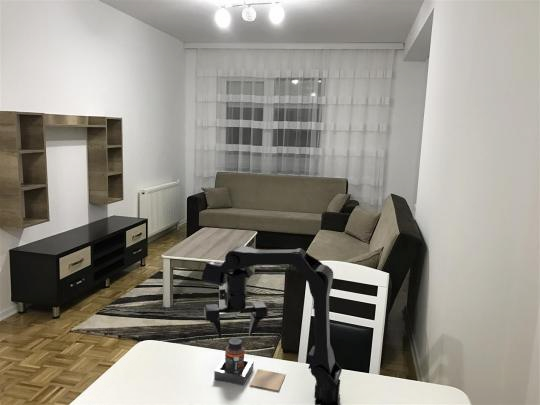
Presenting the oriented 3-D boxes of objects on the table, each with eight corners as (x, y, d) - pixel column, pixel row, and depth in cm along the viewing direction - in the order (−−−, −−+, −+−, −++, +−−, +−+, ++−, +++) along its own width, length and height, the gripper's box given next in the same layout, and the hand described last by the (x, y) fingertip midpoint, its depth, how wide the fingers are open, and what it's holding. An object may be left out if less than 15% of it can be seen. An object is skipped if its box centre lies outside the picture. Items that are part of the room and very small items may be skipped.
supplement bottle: (240, 381, 140) (241, 347, 137) (222, 378, 141) (222, 344, 139) (245, 370, 145) (246, 337, 143) (227, 367, 147) (228, 335, 144)
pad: (285, 375, 144) (285, 374, 143) (278, 391, 135) (278, 390, 135) (258, 370, 146) (258, 369, 146) (249, 386, 137) (249, 384, 137)
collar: (253, 368, 146) (253, 360, 146) (244, 385, 137) (244, 376, 137) (225, 363, 149) (225, 355, 148) (214, 379, 140) (214, 370, 139)
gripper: (261, 277, 145) (259, 322, 148) (202, 280, 141) (201, 326, 144) (269, 290, 135) (267, 339, 138) (206, 294, 130) (205, 344, 133)
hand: (235, 336), depth 139 cm, fingers open, 9 cm apart
